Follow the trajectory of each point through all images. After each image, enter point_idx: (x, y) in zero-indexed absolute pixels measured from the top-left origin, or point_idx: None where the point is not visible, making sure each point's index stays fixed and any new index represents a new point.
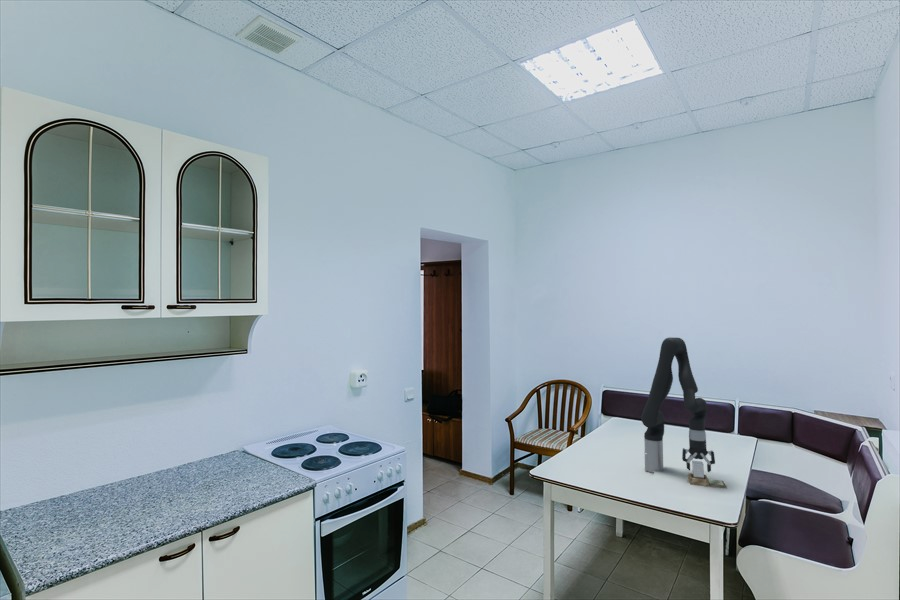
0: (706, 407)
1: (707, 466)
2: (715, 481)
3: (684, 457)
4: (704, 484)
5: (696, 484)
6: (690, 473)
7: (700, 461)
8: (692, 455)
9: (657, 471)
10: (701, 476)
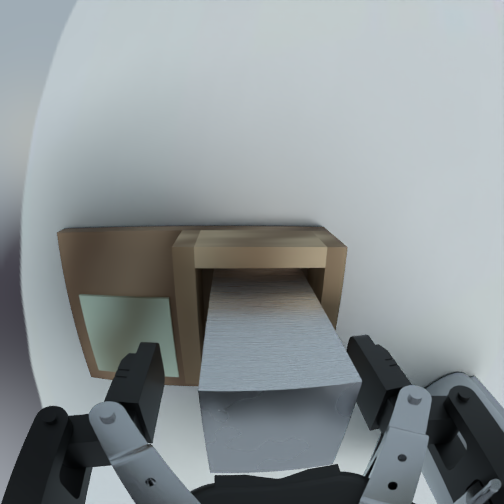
0: None
1: (150, 402)
2: (129, 351)
3: (479, 423)
4: (214, 233)
5: (281, 231)
6: None
7: (231, 470)
8: (412, 492)
9: (445, 384)
10: (234, 291)
